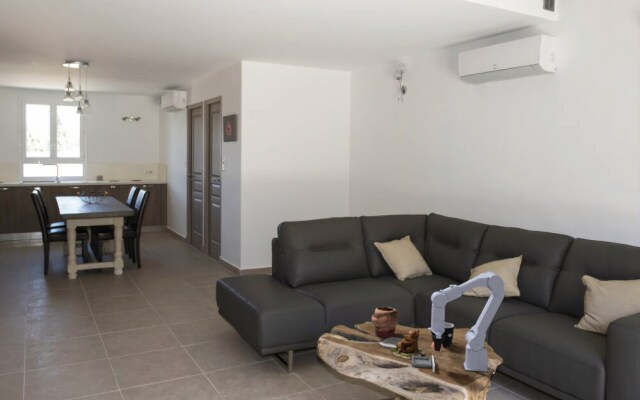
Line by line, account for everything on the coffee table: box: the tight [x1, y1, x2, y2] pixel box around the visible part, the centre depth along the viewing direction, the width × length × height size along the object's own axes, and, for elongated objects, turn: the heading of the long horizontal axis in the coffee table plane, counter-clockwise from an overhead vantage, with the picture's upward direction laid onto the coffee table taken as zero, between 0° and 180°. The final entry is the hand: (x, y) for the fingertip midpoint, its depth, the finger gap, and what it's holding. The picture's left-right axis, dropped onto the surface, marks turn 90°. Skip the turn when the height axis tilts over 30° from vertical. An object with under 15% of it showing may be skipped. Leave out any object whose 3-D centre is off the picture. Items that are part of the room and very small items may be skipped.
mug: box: [442, 321, 455, 348], centre depth 273 cm, size 12×9×10 cm
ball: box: [430, 342, 443, 353], centre depth 243 cm, size 5×5×5 cm
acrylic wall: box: [431, 354, 436, 373], centre depth 244 cm, size 1×12×3 cm, turn 172°
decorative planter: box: [371, 306, 400, 338], centre depth 287 cm, size 20×12×14 cm, turn 139°
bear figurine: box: [390, 329, 426, 360], centre depth 260 cm, size 14×15×12 cm
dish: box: [411, 356, 432, 369], centre depth 248 cm, size 9×9×2 cm
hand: (437, 348), depth 243 cm, fingers closed on ball, 5 cm apart
